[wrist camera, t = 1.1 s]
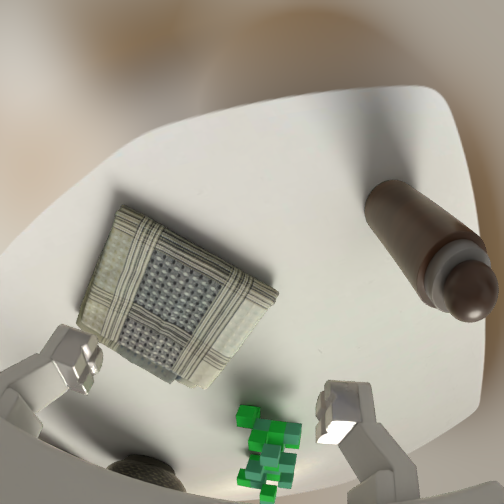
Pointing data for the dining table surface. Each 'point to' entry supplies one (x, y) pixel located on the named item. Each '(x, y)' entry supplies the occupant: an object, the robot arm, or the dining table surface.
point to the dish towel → (170, 302)
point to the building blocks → (268, 452)
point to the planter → (148, 471)
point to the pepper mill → (433, 251)
